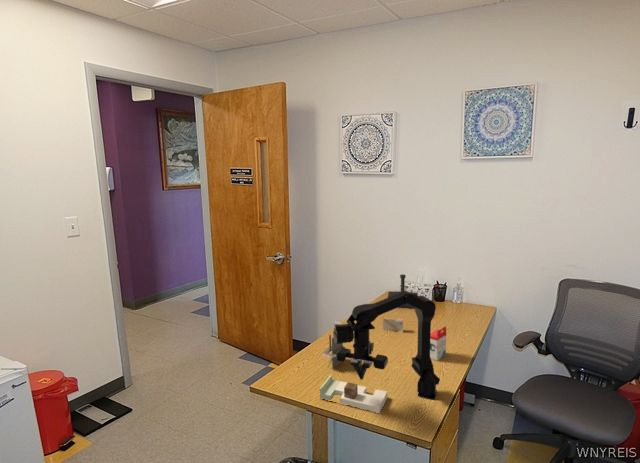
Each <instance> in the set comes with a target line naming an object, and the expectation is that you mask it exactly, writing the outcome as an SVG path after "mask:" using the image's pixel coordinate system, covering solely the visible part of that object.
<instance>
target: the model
mask: <svg viewBox="0 0 640 463" xmlns="http://www.w3.org/2000/svg"><path fill="white" fill-rule="evenodd" d="M397 330H398V331H397ZM382 331H395V332H397V333H399V331H401V332H402V333H404V320H403V318H399V317H398V318H394V319H393V318H382Z"/></svg>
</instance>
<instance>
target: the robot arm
mask: <svg viewBox="0 0 640 463" xmlns="http://www.w3.org/2000/svg"><path fill="white" fill-rule="evenodd" d="M400 292H401V291H400ZM409 292H410V291H408V290H404V291H402V292H401V293H398V294H396V295H393V296H391V297H388V296H387V297H386V298H384V299H382V300H379V301H376V302H374V303H364V304H359V305H357V306H354V308H353V310H352V312H351V314H350V315H349V317H348V319H347V320H346V323H344V324H334V327H333V330H332V334H333V336H332V338H333V337H334V342H335V344H340V343H343V344H347V343H348V344H349V343H351V342H353V344H352V348H353V352H352V350H351V349H350V348H346V347H345V348H341V349H340V350H339V351H338V352H337V354H336V360H337V361H342V362H341V363H343V362H345V361H346V360H347V358H348V359H350V363H349V365H350V366H352V367H353V369H354V370H355V371H356V373H357V375H358V377H359V380H361V381H363V380H364V379H365V375H366V372H367V369H370V367H371V366H373V367H374V368H375V369H378V370H385V368H386V366H388V363H389V358H388V356H387V355H382V354H376V356H375V357H374V356H373V355H372V353H373V352H374V346H375V343H374V342H371V340H370V330H375V329H376V327H375V325H373V323H372V322H375V320H376V319H377V318H378V317H379V316H381V315H383V314H385V313H389V312H391V311H394V310H395V309H399V308H398V307H400V306H403V305H405V304H410V305H412V306H414V307H415V309H414V312H415V314H416V317H417V351H416V352H417V353H416V355H415V356H414V357H411V361H412V362H411V368H412V369H413V371H414V372H415V373H416V374H417V375H418V376H419V378H418V381H417V390H416V391H417V393H418V394H417V396H418V397H420V398H425V399H430V400H436V397H437V393H438V389H437V385H439V384H440V381H441V379H440V377H438V375H437V374H436V373H435V369H434V364H433V361H432V359H431V358H430V335H431V333H432V332H431V330H432V328H431V326H432V320H433V319H434V318H435V314H436V311H437V310H436V309H437V306H436V303H435V302H434V301H433V300H432V299H430V298H428V297H426V295H418V296H417V295H415V294H412V293H409Z"/></svg>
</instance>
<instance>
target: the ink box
mask: <svg viewBox="0 0 640 463" xmlns="http://www.w3.org/2000/svg"><path fill="white" fill-rule="evenodd" d="M446 349H447V325H445V326H443V327H442V328H440V329H436V330H434V331H433V332H431V335H430V358H431V360H433V361H437V362H438V361H439V360H441V359H442V358H444V357H445V356H446V353H447V352H446V351H447V350H446Z"/></svg>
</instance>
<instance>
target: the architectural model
mask: <svg viewBox="0 0 640 463" xmlns="http://www.w3.org/2000/svg"><path fill="white" fill-rule="evenodd" d="M328 336H329V337H328V339H329V340H328V341H329V342H328V344H329V345H328V346H329V347H328V348H326V349H324V351H323V352H322V353H323V356H325V357H328V358H330V361H329V362H328V365H327V368H330V367H331V368H330V369H332V368H333V369H334V368H336V367H337V366H338V365H340V364H341V363H343V362H342V361H337V360H336V354H337V352H338V351H339V350H340V349H341V348H346V347H345V346H344V343H340V344H335V342H334V337H333V336H332V335H331V334H329V335H328ZM330 352H331V353H330ZM335 366H336V367H335Z"/></svg>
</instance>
